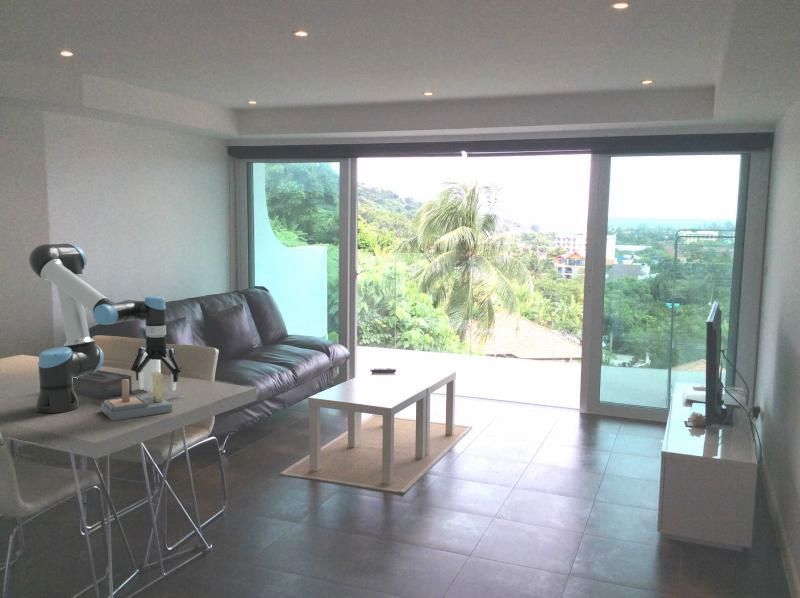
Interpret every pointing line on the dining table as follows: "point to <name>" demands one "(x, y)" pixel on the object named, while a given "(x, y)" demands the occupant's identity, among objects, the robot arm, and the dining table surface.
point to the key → (156, 386)
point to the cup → (149, 372)
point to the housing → (136, 408)
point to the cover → (125, 396)
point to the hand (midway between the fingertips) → (157, 389)
